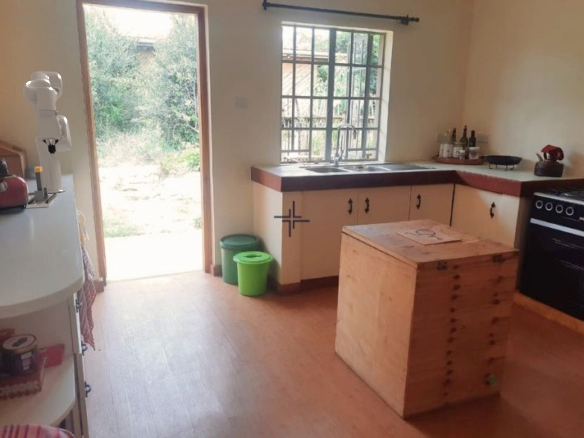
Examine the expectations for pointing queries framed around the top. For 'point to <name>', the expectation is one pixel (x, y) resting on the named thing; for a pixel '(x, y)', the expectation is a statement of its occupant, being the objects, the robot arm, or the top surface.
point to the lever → (39, 178)
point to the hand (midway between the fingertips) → (52, 153)
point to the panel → (39, 204)
